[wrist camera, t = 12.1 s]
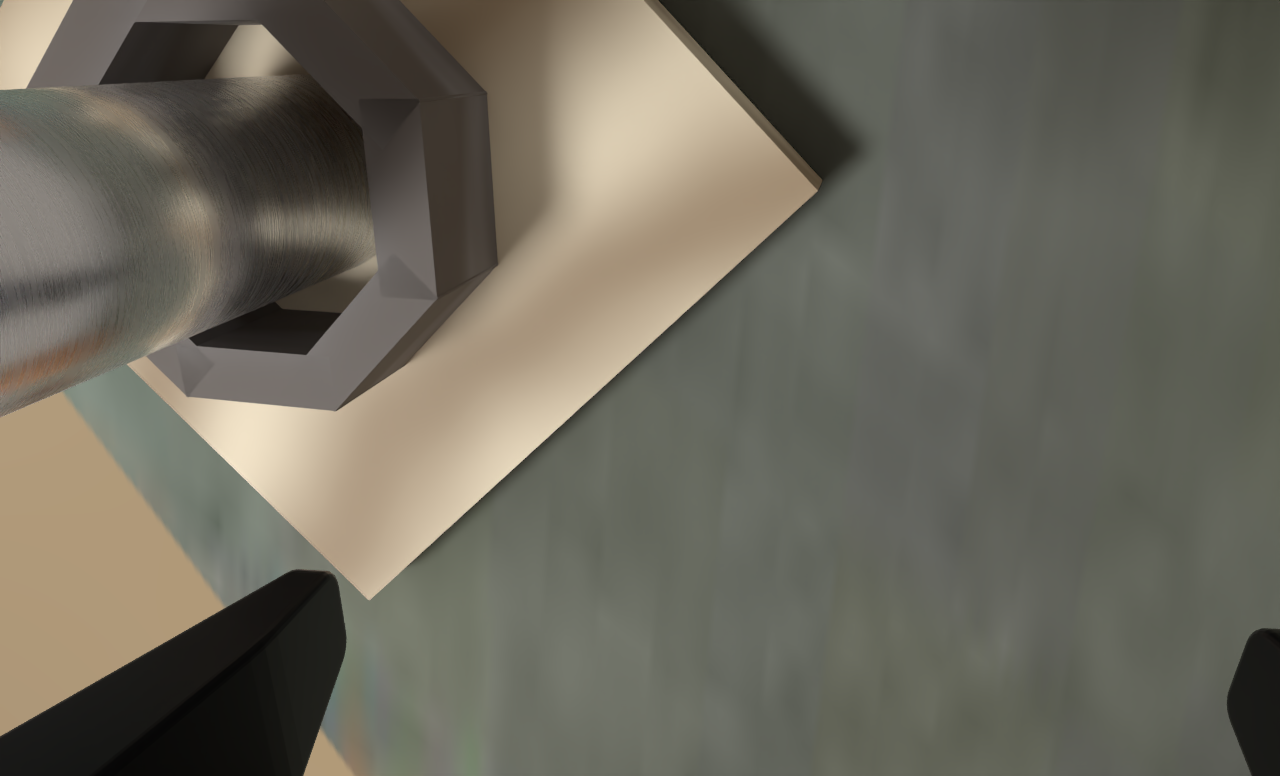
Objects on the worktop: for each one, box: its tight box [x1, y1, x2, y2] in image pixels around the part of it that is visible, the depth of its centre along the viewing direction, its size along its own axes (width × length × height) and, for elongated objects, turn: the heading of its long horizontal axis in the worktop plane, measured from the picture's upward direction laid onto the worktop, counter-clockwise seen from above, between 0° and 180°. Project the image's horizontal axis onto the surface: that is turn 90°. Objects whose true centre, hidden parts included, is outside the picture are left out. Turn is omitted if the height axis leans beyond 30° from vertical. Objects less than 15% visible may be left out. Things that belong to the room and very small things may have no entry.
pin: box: [0, 74, 376, 417], centre depth 15 cm, size 4×4×13 cm
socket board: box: [0, 0, 823, 600], centre depth 20 cm, size 16×16×4 cm
